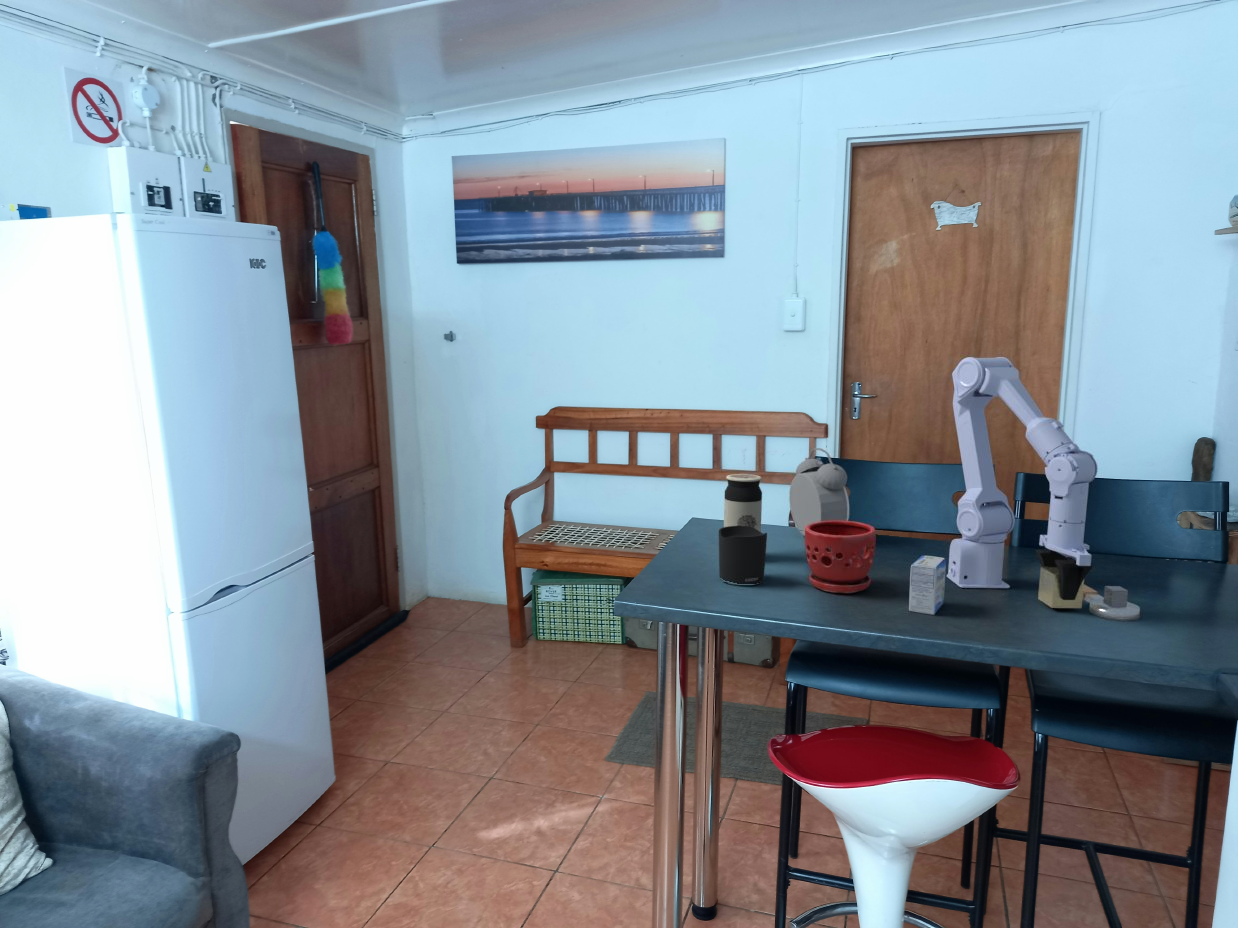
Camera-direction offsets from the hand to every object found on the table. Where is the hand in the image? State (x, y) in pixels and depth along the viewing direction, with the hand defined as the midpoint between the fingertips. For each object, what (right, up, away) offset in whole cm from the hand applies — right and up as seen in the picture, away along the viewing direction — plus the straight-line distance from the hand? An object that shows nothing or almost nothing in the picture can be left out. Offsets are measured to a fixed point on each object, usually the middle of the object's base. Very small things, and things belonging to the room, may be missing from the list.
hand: (1060, 594), depth 153 cm
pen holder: (-55, 0, +16) cm, 57 cm away
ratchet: (+8, -2, +2) cm, 9 cm away
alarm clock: (-32, +5, +50) cm, 60 cm away
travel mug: (-52, +3, +33) cm, 62 cm away
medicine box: (-24, -3, 0) cm, 24 cm away
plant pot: (-37, -1, +12) cm, 39 cm away
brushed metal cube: (0, -2, 0) cm, 2 cm away
